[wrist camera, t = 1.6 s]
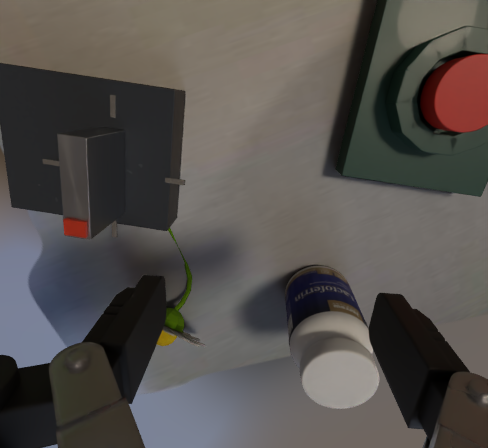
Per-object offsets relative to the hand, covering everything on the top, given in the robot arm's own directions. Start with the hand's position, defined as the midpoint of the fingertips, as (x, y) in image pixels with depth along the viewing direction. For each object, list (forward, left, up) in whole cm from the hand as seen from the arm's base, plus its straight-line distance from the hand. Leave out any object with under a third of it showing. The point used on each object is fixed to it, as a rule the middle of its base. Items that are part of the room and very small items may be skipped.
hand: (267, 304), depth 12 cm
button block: (-9, +10, -15) cm, 20 cm away
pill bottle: (+8, +6, -15) cm, 18 cm away
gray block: (-1, -11, -12) cm, 16 cm away
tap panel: (-2, -13, -15) cm, 20 cm away
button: (-9, +10, -11) cm, 17 cm away
